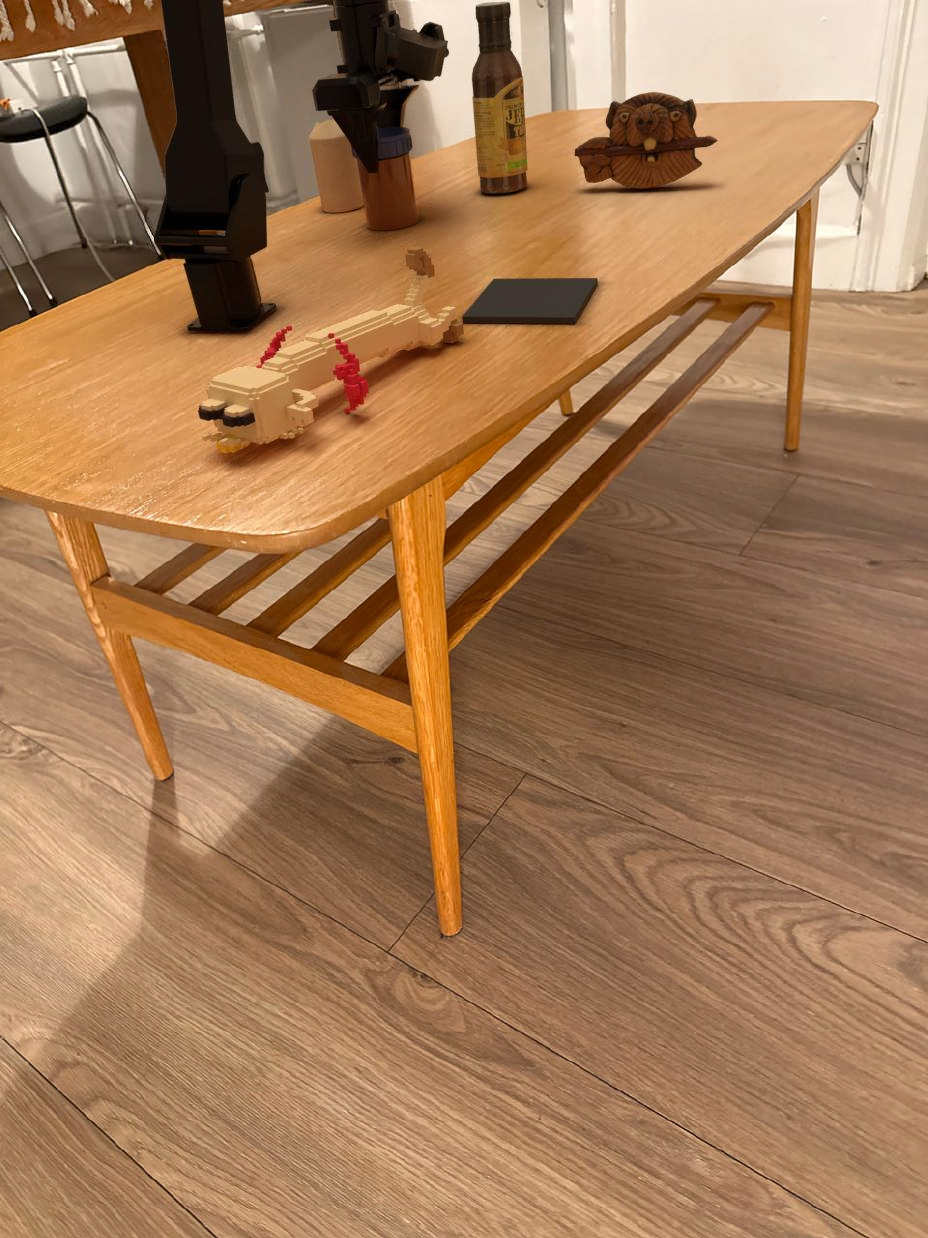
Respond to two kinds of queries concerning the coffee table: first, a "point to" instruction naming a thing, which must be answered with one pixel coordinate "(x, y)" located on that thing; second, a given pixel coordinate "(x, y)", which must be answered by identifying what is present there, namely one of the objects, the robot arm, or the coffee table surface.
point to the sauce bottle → (498, 104)
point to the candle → (335, 168)
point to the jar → (389, 194)
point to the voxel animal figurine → (320, 366)
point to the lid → (391, 142)
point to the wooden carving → (645, 142)
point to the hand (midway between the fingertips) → (384, 165)
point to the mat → (532, 301)
